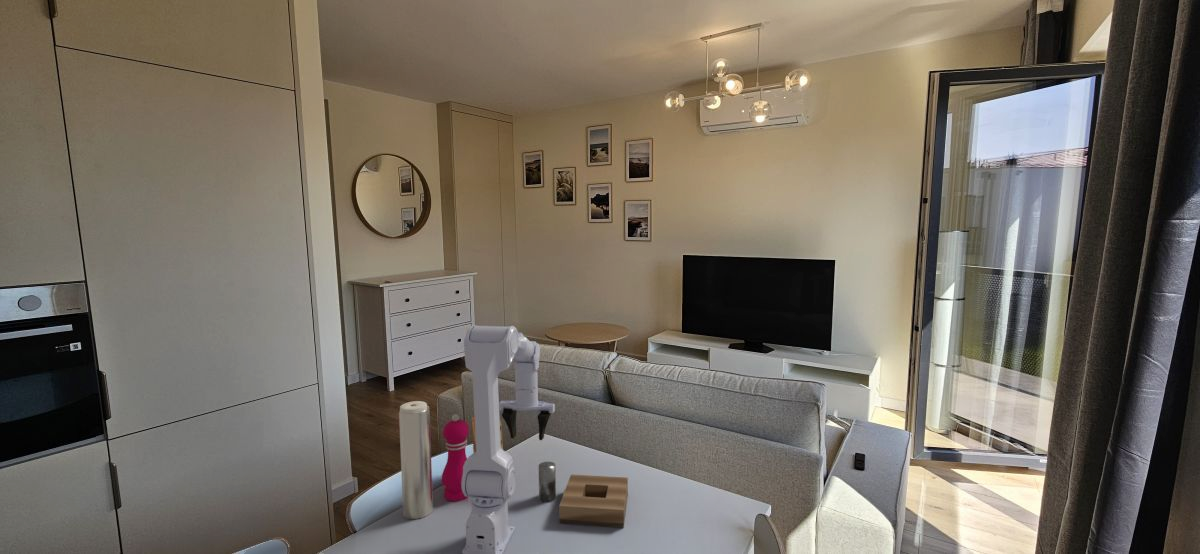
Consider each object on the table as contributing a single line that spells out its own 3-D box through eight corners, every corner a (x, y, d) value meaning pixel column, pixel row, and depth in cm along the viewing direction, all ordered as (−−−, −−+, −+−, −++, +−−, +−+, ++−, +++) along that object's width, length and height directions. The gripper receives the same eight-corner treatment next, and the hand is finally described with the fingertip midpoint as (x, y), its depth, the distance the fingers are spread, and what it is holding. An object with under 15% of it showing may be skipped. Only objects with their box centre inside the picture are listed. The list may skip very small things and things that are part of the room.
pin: (553, 502, 112) (553, 469, 112) (537, 501, 113) (536, 469, 112) (557, 493, 116) (557, 462, 116) (541, 492, 117) (540, 461, 116)
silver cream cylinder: (423, 521, 105) (419, 410, 103) (396, 517, 107) (392, 408, 105) (438, 505, 112) (435, 400, 110) (413, 502, 113) (409, 398, 111)
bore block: (623, 527, 102) (623, 509, 102) (559, 523, 104) (559, 505, 104) (627, 493, 116) (627, 477, 116) (571, 490, 118) (570, 474, 118)
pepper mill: (477, 487, 120) (475, 409, 118) (466, 503, 112) (464, 420, 111) (449, 486, 120) (447, 408, 119) (437, 501, 113) (434, 419, 112)
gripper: (557, 383, 127) (558, 433, 128) (505, 381, 129) (506, 430, 130) (550, 391, 120) (551, 444, 121) (495, 389, 122) (496, 440, 123)
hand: (527, 437), depth 125 cm, fingers open, 7 cm apart
